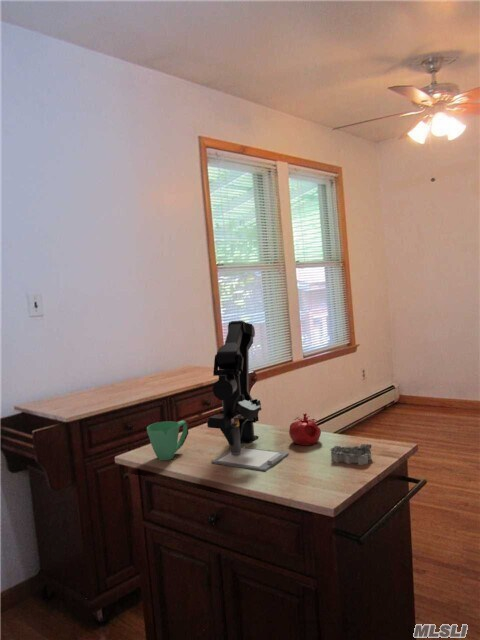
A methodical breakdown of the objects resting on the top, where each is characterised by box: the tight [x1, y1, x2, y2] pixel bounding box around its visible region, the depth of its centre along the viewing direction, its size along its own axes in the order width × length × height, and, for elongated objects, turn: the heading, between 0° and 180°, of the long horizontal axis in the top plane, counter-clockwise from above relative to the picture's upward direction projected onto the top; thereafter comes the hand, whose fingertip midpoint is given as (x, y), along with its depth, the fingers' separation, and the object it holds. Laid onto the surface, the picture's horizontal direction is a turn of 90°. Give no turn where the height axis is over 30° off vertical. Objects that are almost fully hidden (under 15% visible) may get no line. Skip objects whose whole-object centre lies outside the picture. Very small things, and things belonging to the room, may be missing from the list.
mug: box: [146, 420, 189, 461], centre depth 153 cm, size 15×10×10 cm
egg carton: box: [329, 443, 372, 466], centre depth 138 cm, size 11×8×4 cm
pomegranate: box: [288, 412, 322, 446], centre depth 156 cm, size 10×10×9 cm
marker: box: [229, 419, 242, 455], centre depth 147 cm, size 3×3×10 cm
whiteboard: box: [211, 446, 290, 472], centre depth 145 cm, size 14×18×2 cm
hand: (235, 443), depth 147 cm, fingers closed on marker, 3 cm apart
